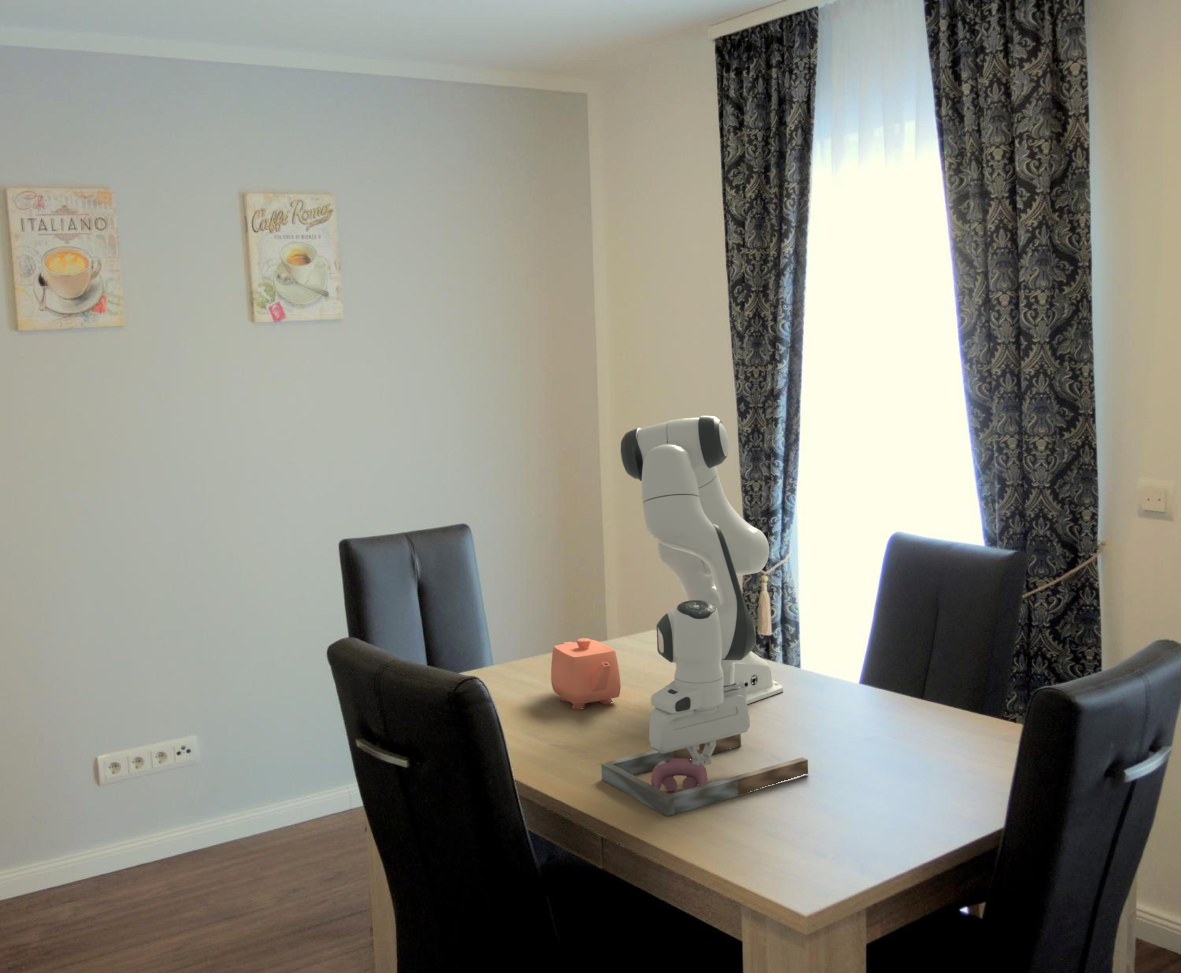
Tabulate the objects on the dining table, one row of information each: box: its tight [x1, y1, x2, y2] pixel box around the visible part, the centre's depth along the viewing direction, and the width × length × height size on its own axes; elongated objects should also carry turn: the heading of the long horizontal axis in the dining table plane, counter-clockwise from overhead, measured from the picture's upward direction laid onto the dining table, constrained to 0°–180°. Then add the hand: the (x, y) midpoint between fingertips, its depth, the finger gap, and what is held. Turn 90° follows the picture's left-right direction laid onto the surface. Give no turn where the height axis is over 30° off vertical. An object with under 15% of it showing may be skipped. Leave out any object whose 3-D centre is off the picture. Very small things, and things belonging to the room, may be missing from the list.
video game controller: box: [650, 758, 709, 792], centre depth 203 cm, size 10×5×7 cm, turn 84°
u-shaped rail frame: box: [600, 734, 809, 817], centre depth 210 cm, size 31×21×3 cm
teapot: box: [550, 637, 621, 710], centre depth 258 cm, size 22×13×14 cm, turn 25°
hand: (701, 765), depth 210 cm, fingers closed
